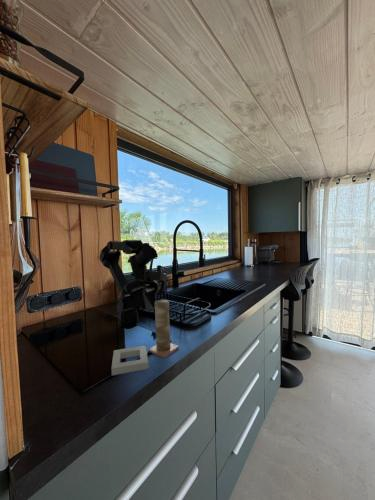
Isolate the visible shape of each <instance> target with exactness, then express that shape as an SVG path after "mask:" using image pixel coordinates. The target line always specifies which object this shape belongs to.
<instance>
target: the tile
mask: <svg viewBox="0 0 375 500" xmlns="http://www.w3.org/2000/svg"><path fill="white" fill-rule="evenodd" d="M178 349H179V345H177V344H174V343H171V342H170V349H169V350H167V351H158V350H157V346H156V344H155V345H154V346H152V347H150V348H148V352H149V351H150V352H149V353H151V354H154V355H156V356H158V357H161V358H164V359H165V358H167V357H168V356H170V355H171V354H172V353H174V352H176V351H177V350H178Z"/></svg>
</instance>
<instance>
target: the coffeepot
mask: <svg viewBox="0 0 375 500" xmlns="http://www.w3.org/2000/svg"><path fill="white" fill-rule="evenodd" d="M154 282H158V283H161V284H160V287H161V288H159V289H160V290H159V292H157V295H162V294H163V290H164V288H165V285H166V281H165V280H164V281H160V280H154ZM145 293H146V292H145ZM144 296H145V294H144ZM145 302H146V309H145V310H153V309H155V308H153V307H152V305H151V304H150V302H149V300H148V299H147V297H146V296H145ZM140 309H142V308H141V307H140ZM140 309H139V310H140Z"/></svg>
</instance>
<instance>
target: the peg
mask: <svg viewBox="0 0 375 500" xmlns="http://www.w3.org/2000/svg"><path fill="white" fill-rule="evenodd" d="M154 318H155V320H154V321H155V323H154V324H155V340H156V343H155V345H156V346H157V350H158V351H167V350H169V349H170V343H171V330H170V329H171V328H170V327H171V326H170V325H171V323H170V302H169V300H167V299H160V300H159V299H158V300H156V301H155V312H154Z"/></svg>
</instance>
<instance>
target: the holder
mask: <svg viewBox="0 0 375 500" xmlns="http://www.w3.org/2000/svg"><path fill="white" fill-rule="evenodd" d="M133 357H139V359H136V360H135V359H134V360H130V361H124V362H123V361H122V360H123V359H129V358H133ZM110 369H111V376H117V375H123V374H128V373H133V372H139V371H144V370H149V359H148V353H147V345H140V346H133V347H127V348H121V349H116V350H115V349H114V350H113V355H112V362H111V368H110Z"/></svg>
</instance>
